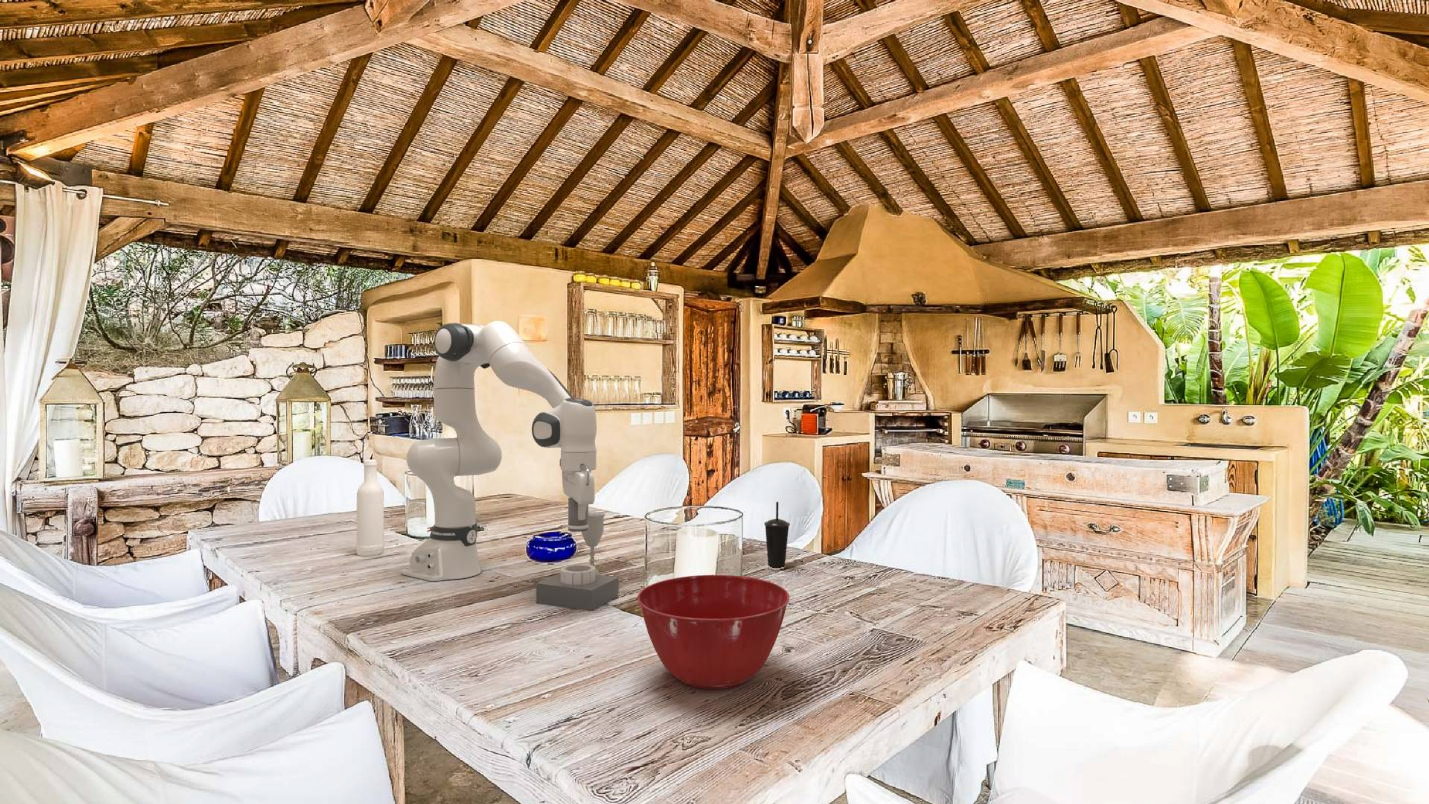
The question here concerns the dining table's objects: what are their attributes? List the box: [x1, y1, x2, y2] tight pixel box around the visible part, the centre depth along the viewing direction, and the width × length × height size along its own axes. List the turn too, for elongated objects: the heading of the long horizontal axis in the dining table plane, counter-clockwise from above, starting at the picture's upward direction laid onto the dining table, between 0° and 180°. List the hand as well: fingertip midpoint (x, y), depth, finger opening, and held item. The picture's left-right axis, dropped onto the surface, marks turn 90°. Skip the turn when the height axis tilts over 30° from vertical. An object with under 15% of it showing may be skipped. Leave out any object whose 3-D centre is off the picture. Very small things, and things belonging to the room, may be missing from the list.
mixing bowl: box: [637, 574, 791, 690], centre depth 135 cm, size 28×28×16 cm
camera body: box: [535, 563, 620, 612], centre depth 182 cm, size 16×13×8 cm
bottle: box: [356, 459, 385, 557], centre depth 230 cm, size 8×8×30 cm
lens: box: [567, 497, 589, 533], centre depth 182 cm, size 5×5×8 cm
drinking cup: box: [764, 501, 791, 568], centre depth 216 cm, size 8×8×20 cm
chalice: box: [581, 511, 606, 575], centre depth 203 cm, size 7×7×18 cm
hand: (578, 517), depth 182 cm, fingers closed on lens, 5 cm apart
